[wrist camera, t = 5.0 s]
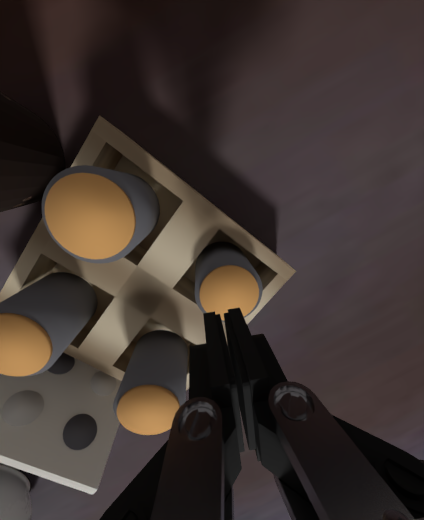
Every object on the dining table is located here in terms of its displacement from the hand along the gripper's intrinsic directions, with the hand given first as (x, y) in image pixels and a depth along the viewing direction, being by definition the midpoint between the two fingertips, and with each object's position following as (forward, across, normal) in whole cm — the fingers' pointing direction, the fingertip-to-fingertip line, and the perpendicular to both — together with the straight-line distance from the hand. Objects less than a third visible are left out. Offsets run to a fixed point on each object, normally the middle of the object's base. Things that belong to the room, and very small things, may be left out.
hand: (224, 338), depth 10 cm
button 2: (+8, -1, 0) cm, 9 cm away
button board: (+10, +5, 0) cm, 11 cm away
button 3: (+7, +10, 0) cm, 12 cm away
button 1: (+7, +5, +5) cm, 10 cm away
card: (+10, +12, +7) cm, 17 cm away
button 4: (+6, +5, -6) cm, 10 cm away
